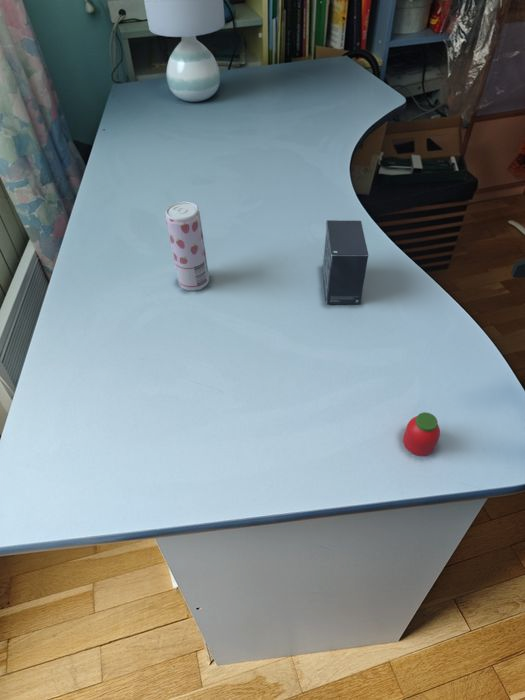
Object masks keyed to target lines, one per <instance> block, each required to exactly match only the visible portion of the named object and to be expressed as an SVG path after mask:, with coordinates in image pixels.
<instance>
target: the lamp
mask: <svg viewBox="0 0 525 700" xmlns="http://www.w3.org/2000/svg"><path fill="white" fill-rule="evenodd" d="M143 3H144V8H145V14H146V19H147V25H148V30H149V31H150V32H151V33H152V34H154V35H156V36H157V35H158V36H162V37H171V38H181V39H180V40H181V41H180V42H179V43H178V44H177V45H176V46H175V48H174V49H173V50H172V52H171V54H170V56H169V58H168V61H167V65H166V71H165V72H166V82H167V85H168V88H169V89H170V92H171V93H172V94H173V95H174V96H175V97H176V98H178V99H180V100H182V101H186V102H188V103H197V102H198V103H199V102H203V101H206V100H208V99H211V97H213V96H214V95H215V94H216V92H217V91H218V90H219V87H220V84H221V71H220V67H219V65H218V62H217V60H216V58H215V56H214V55H213V53H212V52H211V51H210V49H208V48H207V47H206V46H205V45H204V44H203V43H202V42H200V41H199V40H198V39H197V36H203V35H207V34H211V33H212V34H213V33H214V32H218V31H219V30H221V29H222V28H224V27H225V25H226V22H225V20H226V19H225V9H224V0H143Z"/></svg>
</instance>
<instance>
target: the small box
mask: <svg viewBox="0 0 525 700" xmlns="http://www.w3.org/2000/svg"><path fill="white" fill-rule="evenodd" d="M325 223H326V225H325V228H326V229H325V230H326V231H325V238H324V239H325V240H324V248H323V249H324V251H323V259H322V268H321V269H322V271H321V272H322V282H323V292H324V293H323V294H324V301H325V302H324V303H325V304H326V305H361V303H362V302H361V301H362V296H363V290H364V283H365V279H366V273H367V272H366V271H367V266H368V262H369V256H370V255H369V251H368V247H367V246H368V245H367V242H366V237H365V232H364V228H363V223H362V221H361V220H337V219H336V220H335V219H334V220H332V219H330V220H326V222H325Z"/></svg>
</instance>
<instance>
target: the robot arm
mask: <svg viewBox="0 0 525 700" xmlns="http://www.w3.org/2000/svg"><path fill="white" fill-rule="evenodd" d="M510 274H511V277H512V278H513V279H523V278H525V258H522V259H519V260H516V261H515V262H514V264H513V266H512V269H511V271H510Z"/></svg>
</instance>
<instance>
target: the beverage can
mask: <svg viewBox="0 0 525 700" xmlns="http://www.w3.org/2000/svg"><path fill="white" fill-rule="evenodd" d="M201 219H202V218H201V213H200V210H199V207H198V206H197V205H196V204H195V203H194V202H190V201H178V202H174V203H172V204H170V205H169V206H168V207H167V208H166V210H165V221H166V225H167V231H168V236H169V241H170V246H171V251H172V256H173V262H174V266H175V272H176V277H177V282H178V285H179V286H180V287H181V288H182V289H184V290H186V291H189V292H190V291H191V292H192V291H199V290H202V289H203V288H206V286H207V285H208V284H209V282H210V275H209V267H208V261H207V253H206V246H205V239H204V233H203V226H202V220H201Z"/></svg>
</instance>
